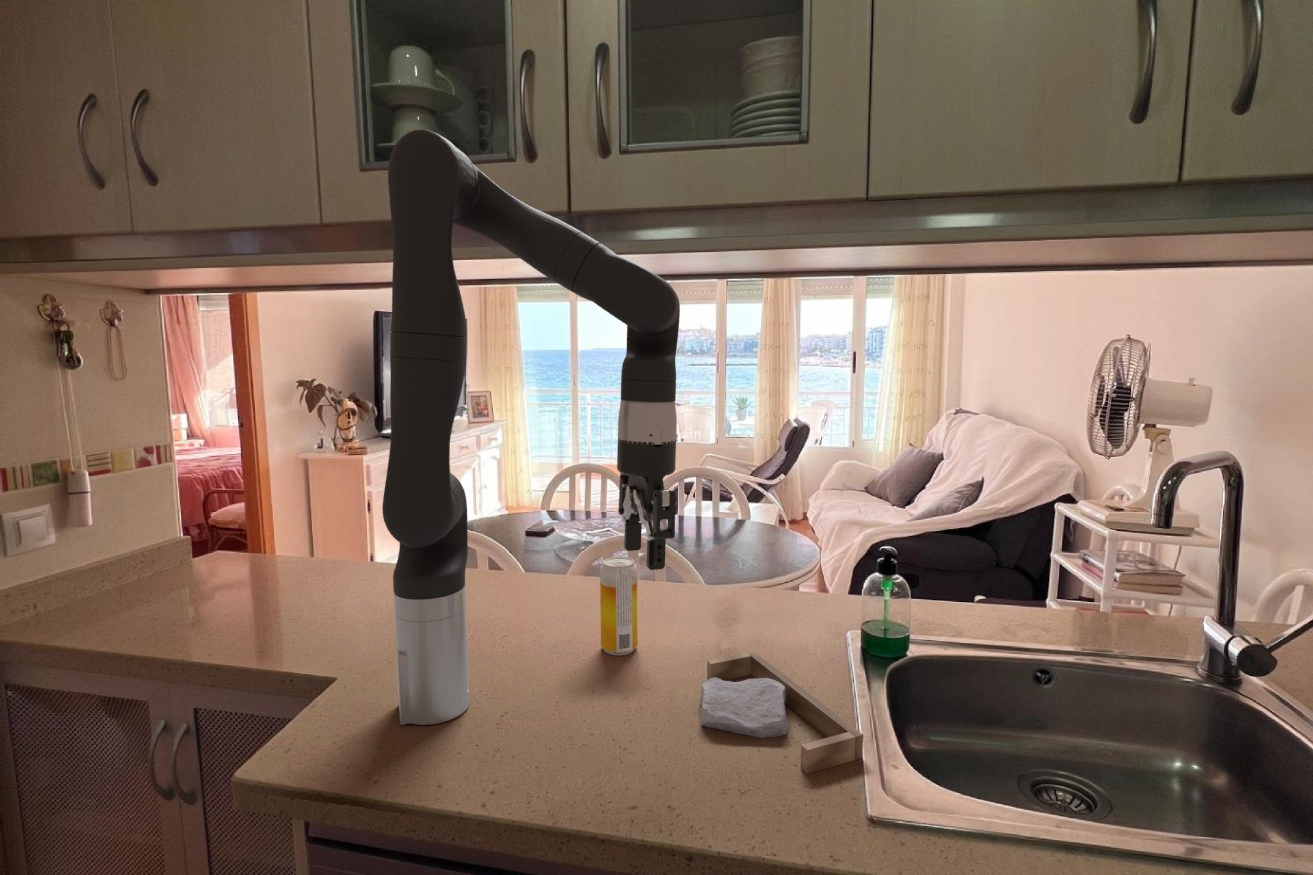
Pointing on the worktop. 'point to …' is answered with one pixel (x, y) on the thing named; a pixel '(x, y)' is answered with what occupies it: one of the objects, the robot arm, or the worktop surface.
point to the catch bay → (799, 712)
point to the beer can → (618, 605)
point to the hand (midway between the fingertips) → (643, 558)
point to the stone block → (745, 707)
